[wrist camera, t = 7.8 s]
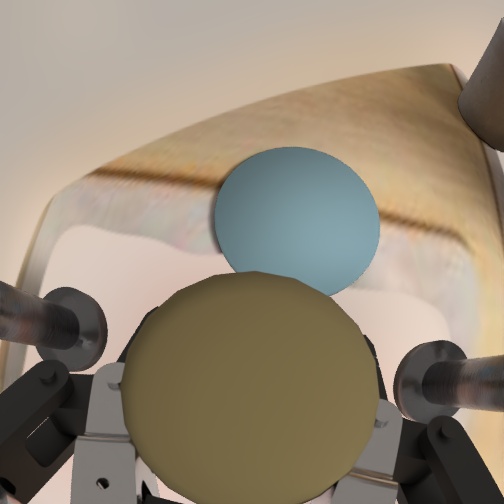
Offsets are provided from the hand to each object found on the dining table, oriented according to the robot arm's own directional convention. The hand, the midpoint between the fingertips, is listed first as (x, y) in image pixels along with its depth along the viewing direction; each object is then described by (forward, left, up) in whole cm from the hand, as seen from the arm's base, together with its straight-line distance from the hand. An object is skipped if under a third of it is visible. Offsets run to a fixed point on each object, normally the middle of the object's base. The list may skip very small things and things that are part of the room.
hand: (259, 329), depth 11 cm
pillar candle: (-25, -27, -10) cm, 38 cm away
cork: (0, +2, -5) cm, 5 cm away
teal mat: (-2, -9, -10) cm, 13 cm away
